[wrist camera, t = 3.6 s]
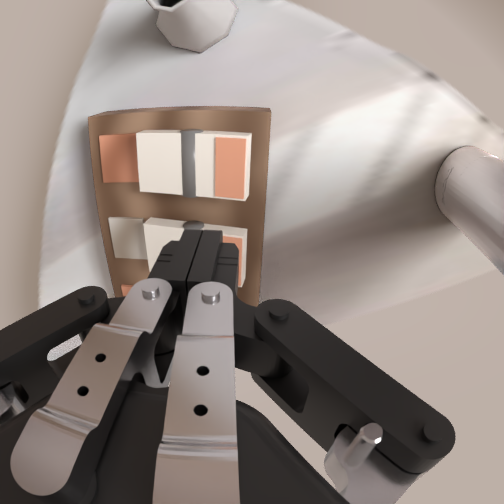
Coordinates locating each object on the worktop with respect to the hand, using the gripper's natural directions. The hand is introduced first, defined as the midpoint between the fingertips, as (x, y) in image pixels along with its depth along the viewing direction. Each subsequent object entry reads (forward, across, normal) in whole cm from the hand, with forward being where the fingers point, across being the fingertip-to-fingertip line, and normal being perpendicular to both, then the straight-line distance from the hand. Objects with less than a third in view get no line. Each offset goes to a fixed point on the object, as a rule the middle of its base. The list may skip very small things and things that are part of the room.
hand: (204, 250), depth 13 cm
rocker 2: (+13, +3, +8) cm, 16 cm away
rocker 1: (+13, +3, 0) cm, 14 cm away
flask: (+19, +4, -13) cm, 24 cm away
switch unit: (+19, +5, +8) cm, 21 cm away
